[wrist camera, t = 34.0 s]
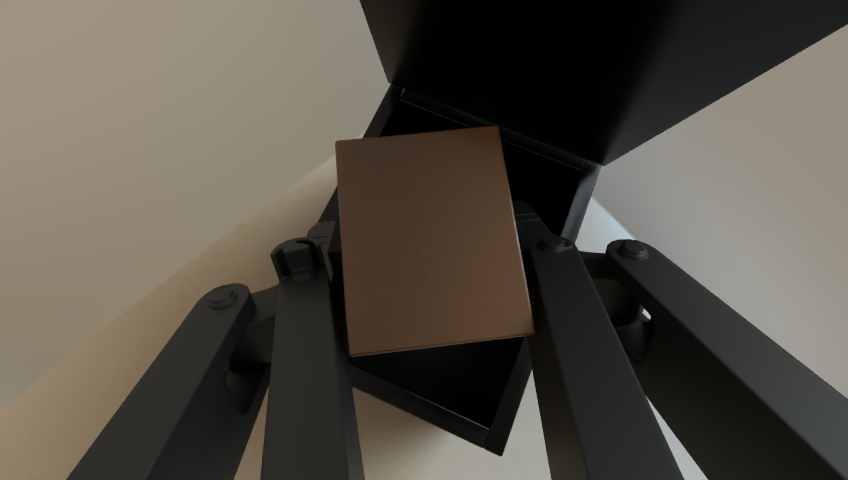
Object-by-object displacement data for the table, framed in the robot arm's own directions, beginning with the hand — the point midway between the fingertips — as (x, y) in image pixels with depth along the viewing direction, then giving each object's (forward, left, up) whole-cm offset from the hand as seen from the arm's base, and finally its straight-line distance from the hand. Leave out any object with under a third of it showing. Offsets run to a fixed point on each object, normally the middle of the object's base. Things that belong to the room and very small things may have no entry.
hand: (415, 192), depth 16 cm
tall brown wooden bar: (-3, +2, -4) cm, 5 cm away
